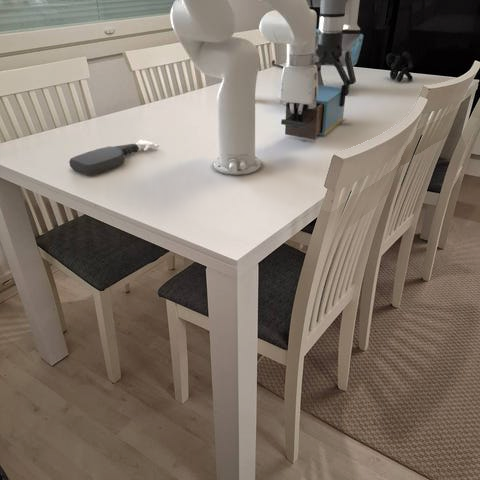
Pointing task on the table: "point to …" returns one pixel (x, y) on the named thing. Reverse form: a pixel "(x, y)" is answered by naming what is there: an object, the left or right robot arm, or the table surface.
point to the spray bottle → (106, 157)
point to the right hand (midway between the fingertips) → (324, 103)
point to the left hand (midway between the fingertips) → (296, 126)
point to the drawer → (305, 122)
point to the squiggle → (399, 66)
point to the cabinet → (330, 107)
